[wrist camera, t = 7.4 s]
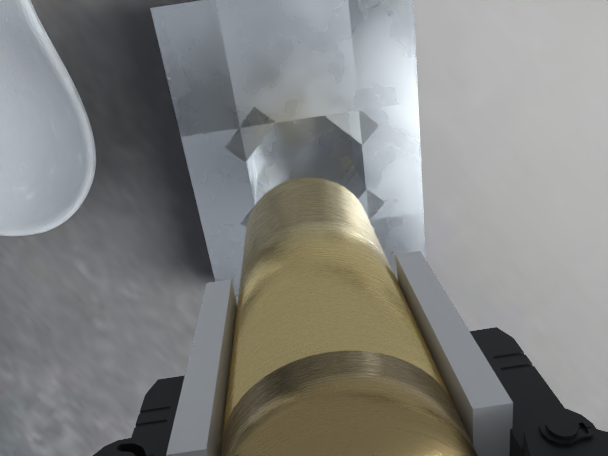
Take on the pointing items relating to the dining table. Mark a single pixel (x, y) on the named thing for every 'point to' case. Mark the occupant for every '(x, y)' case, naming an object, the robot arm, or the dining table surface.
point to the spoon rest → (39, 129)
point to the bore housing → (296, 110)
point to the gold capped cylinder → (329, 340)
